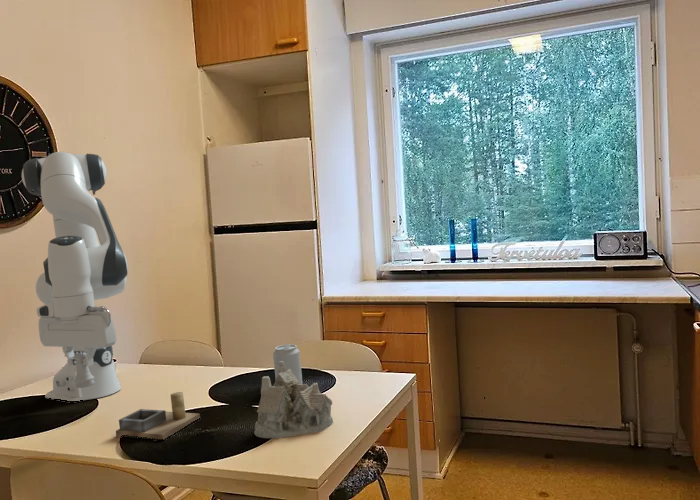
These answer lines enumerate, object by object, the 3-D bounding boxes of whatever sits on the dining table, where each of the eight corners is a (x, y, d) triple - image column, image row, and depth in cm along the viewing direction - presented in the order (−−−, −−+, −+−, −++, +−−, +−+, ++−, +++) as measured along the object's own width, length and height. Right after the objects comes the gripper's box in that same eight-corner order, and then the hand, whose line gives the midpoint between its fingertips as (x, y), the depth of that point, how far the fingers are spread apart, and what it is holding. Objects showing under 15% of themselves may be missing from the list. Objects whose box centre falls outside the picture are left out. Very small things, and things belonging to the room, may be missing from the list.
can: (271, 391, 174) (267, 349, 173) (284, 383, 181) (280, 343, 180) (295, 392, 171) (291, 349, 170) (307, 384, 178) (303, 343, 177)
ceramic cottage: (244, 433, 143) (242, 369, 142) (293, 413, 156) (292, 354, 154) (293, 449, 133) (292, 381, 132) (341, 426, 146) (341, 364, 145)
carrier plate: (116, 437, 148) (112, 406, 147) (155, 416, 161) (152, 388, 160) (163, 441, 143) (160, 409, 142) (200, 419, 155) (197, 390, 155)
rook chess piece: (78, 384, 147) (73, 351, 146) (97, 381, 147) (92, 348, 147) (72, 389, 142) (66, 355, 142) (92, 386, 143) (86, 352, 142)
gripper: (119, 303, 142) (125, 362, 143) (53, 304, 150) (60, 360, 151) (98, 308, 136) (105, 370, 138) (31, 309, 144) (38, 367, 146)
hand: (81, 365), depth 145 cm, fingers closed on rook chess piece, 3 cm apart
